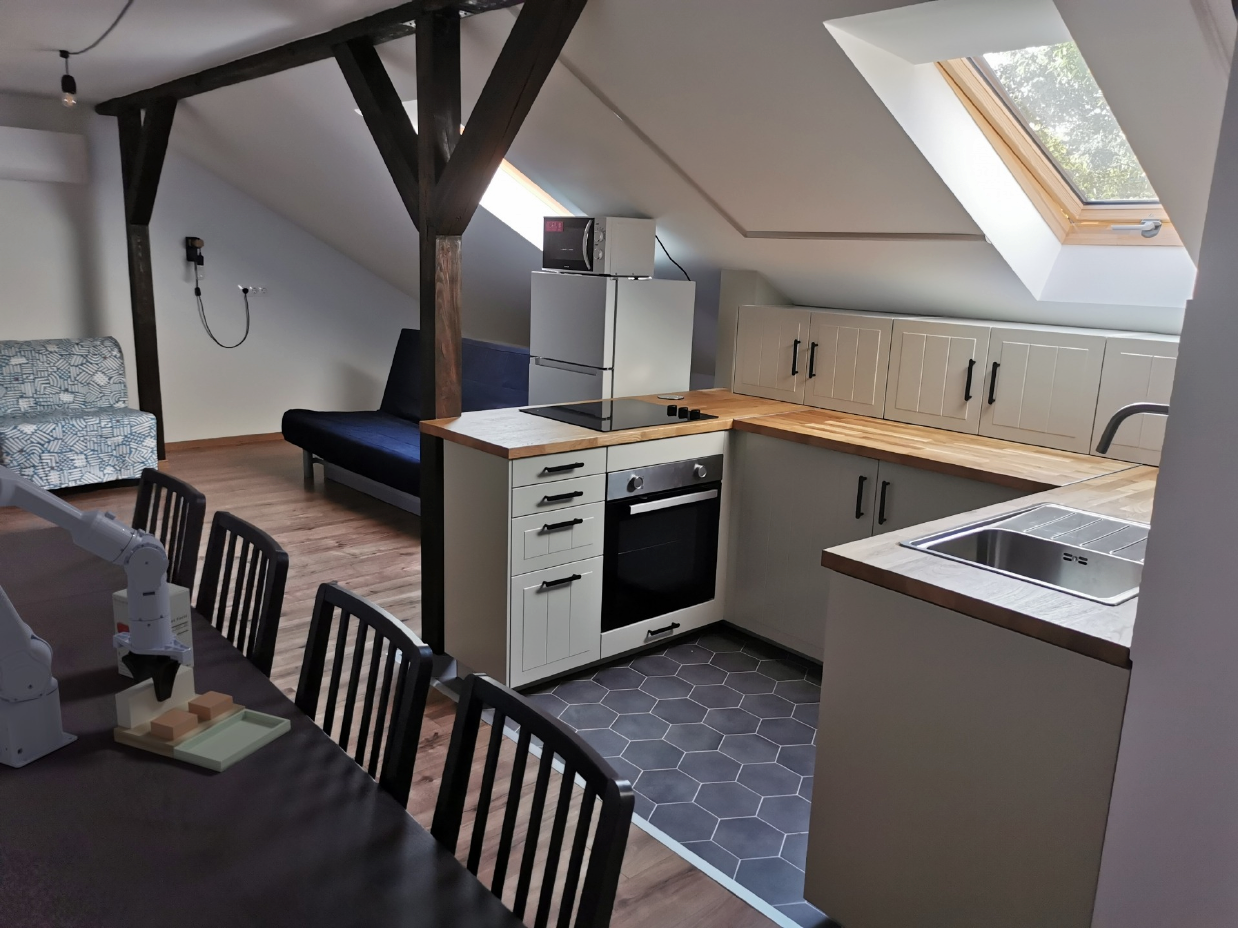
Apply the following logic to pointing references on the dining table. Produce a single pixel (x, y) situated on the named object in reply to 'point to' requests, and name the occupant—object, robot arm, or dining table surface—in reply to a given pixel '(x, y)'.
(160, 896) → the dining table surface
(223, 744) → the tray
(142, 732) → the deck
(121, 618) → the supplement box
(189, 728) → the tile
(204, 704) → the tile
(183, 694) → the push bar
